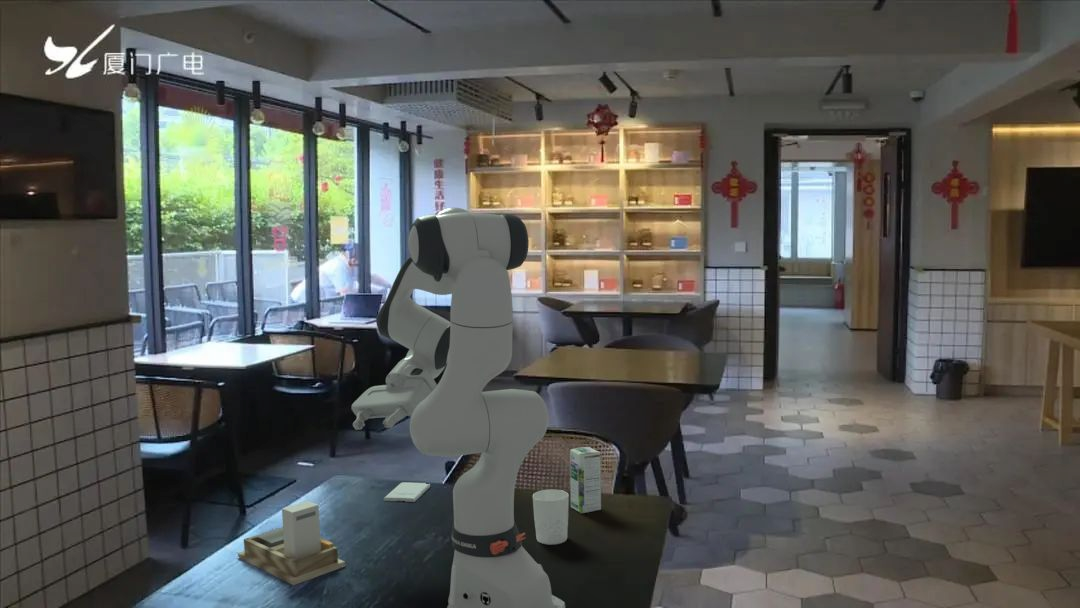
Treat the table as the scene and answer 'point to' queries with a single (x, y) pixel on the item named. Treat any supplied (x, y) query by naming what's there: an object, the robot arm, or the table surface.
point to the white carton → (301, 530)
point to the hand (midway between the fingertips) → (371, 426)
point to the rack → (288, 558)
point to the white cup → (551, 516)
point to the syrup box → (585, 479)
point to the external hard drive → (407, 492)
